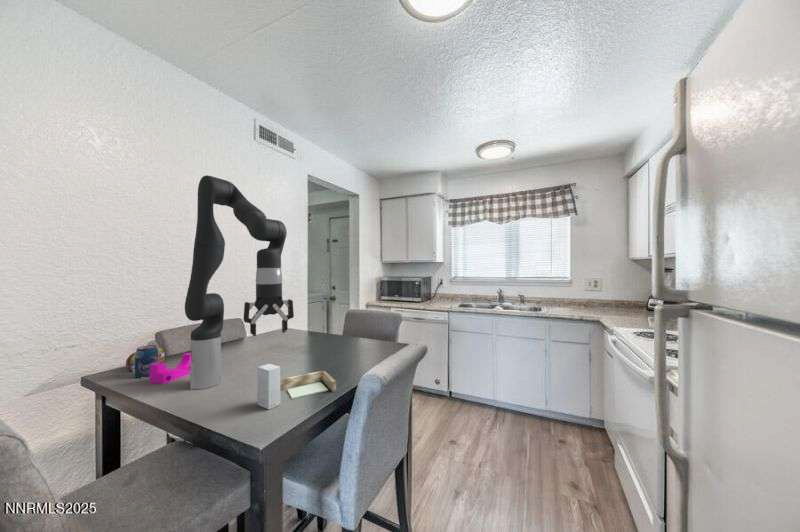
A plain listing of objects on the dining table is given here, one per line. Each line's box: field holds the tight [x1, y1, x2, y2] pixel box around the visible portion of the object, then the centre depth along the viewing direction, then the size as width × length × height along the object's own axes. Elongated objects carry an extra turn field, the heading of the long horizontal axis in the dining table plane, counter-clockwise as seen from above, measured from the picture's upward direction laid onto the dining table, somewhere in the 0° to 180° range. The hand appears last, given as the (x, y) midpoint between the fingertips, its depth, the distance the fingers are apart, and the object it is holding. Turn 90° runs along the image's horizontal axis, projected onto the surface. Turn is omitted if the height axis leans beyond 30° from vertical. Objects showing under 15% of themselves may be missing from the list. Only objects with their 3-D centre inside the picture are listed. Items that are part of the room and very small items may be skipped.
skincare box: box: [257, 363, 281, 410], centre depth 91 cm, size 6×4×12 cm
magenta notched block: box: [149, 352, 191, 385], centre depth 114 cm, size 15×6×8 cm, turn 167°
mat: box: [286, 381, 329, 400], centre depth 102 cm, size 12×8×1 cm, turn 122°
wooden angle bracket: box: [280, 370, 337, 393], centre depth 102 cm, size 16×13×4 cm
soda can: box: [134, 344, 158, 379], centre depth 115 cm, size 7×7×12 cm
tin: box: [125, 346, 167, 372], centre depth 124 cm, size 15×3×8 cm, turn 169°
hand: (269, 333), depth 92 cm, fingers open, 8 cm apart
